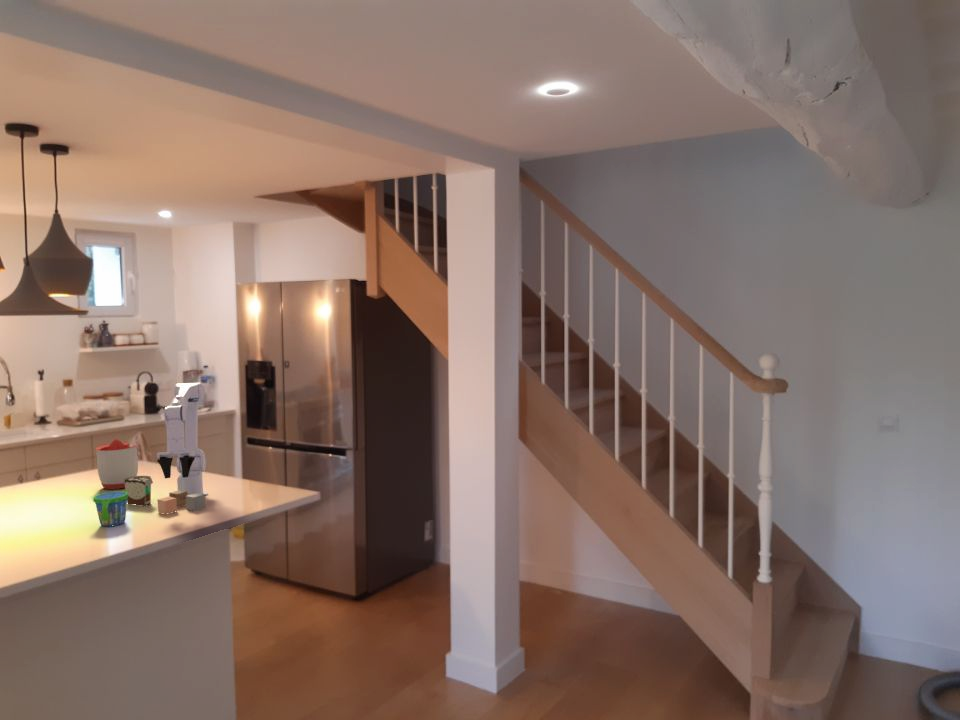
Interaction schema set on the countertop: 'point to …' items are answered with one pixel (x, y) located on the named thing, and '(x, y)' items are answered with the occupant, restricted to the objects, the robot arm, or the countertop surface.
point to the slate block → (195, 501)
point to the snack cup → (111, 507)
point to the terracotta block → (167, 505)
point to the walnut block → (179, 497)
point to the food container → (138, 489)
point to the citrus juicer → (116, 463)
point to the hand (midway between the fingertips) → (176, 477)
